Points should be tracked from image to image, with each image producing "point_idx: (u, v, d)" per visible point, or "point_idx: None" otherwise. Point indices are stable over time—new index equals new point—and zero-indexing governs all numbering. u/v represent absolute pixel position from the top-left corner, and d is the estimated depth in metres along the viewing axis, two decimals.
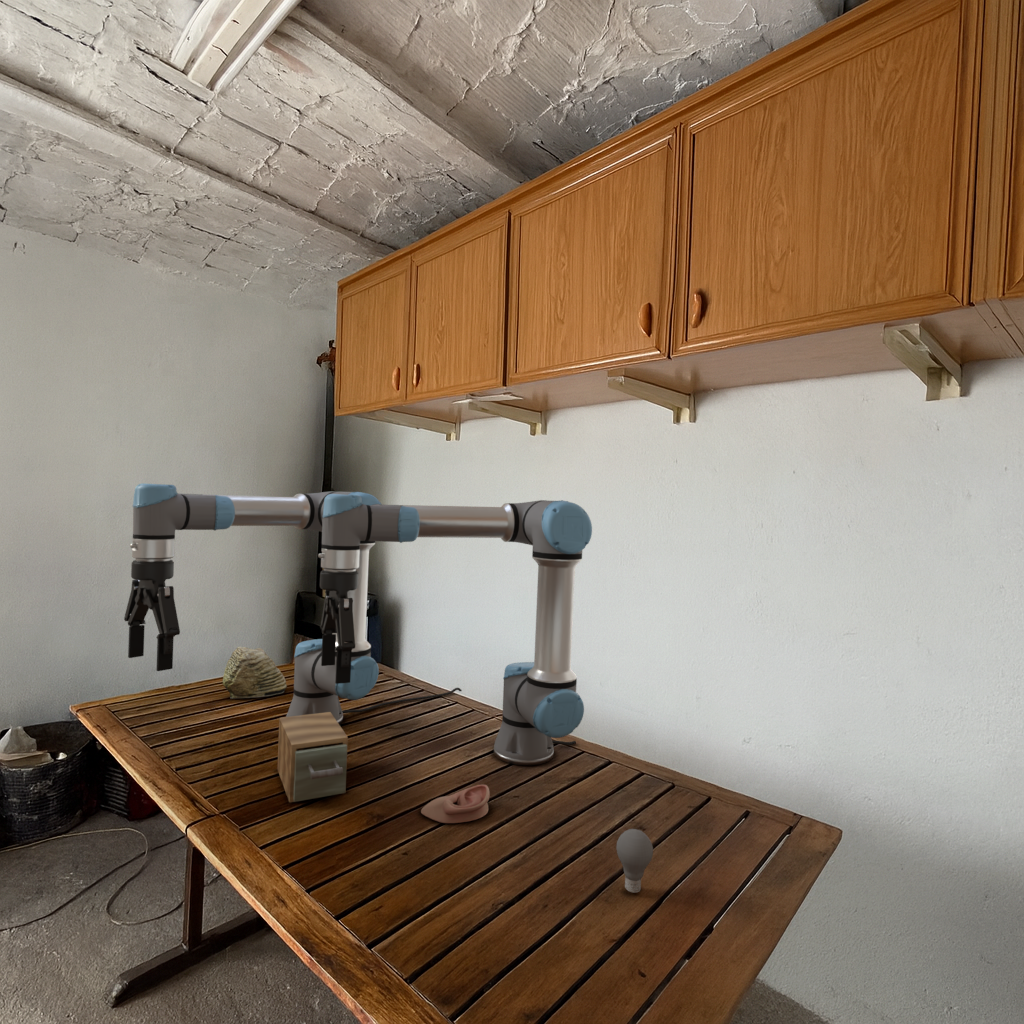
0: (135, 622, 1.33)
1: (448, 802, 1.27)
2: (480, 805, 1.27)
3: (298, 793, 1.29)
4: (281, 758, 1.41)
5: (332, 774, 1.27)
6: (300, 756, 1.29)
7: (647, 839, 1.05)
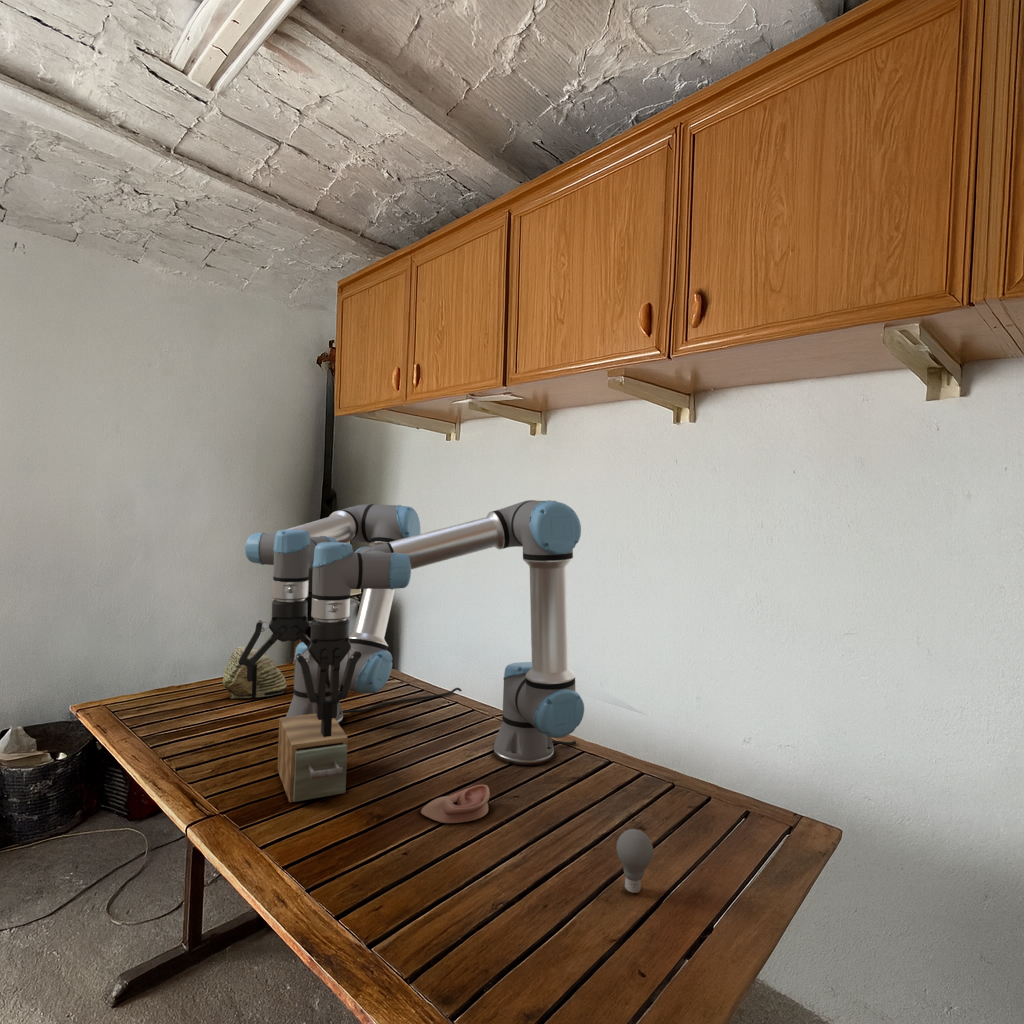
0: None
1: (448, 802, 1.27)
2: (480, 805, 1.27)
3: (298, 793, 1.29)
4: (281, 758, 1.41)
5: (332, 774, 1.27)
6: (300, 756, 1.29)
7: (647, 839, 1.05)
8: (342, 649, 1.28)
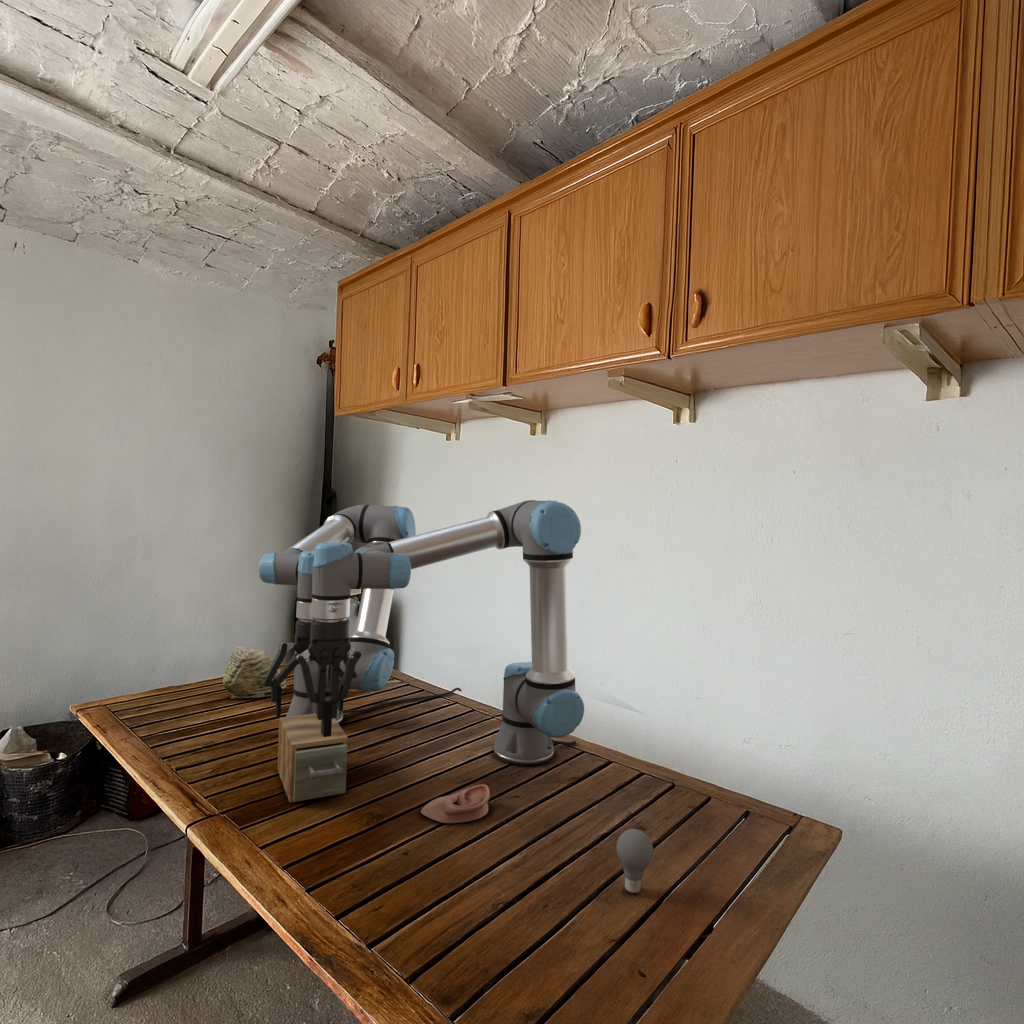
0: None
1: (448, 802, 1.27)
2: (480, 805, 1.27)
3: (298, 793, 1.29)
4: (281, 758, 1.41)
5: (332, 774, 1.27)
6: (300, 756, 1.29)
7: (647, 839, 1.05)
8: (342, 649, 1.28)
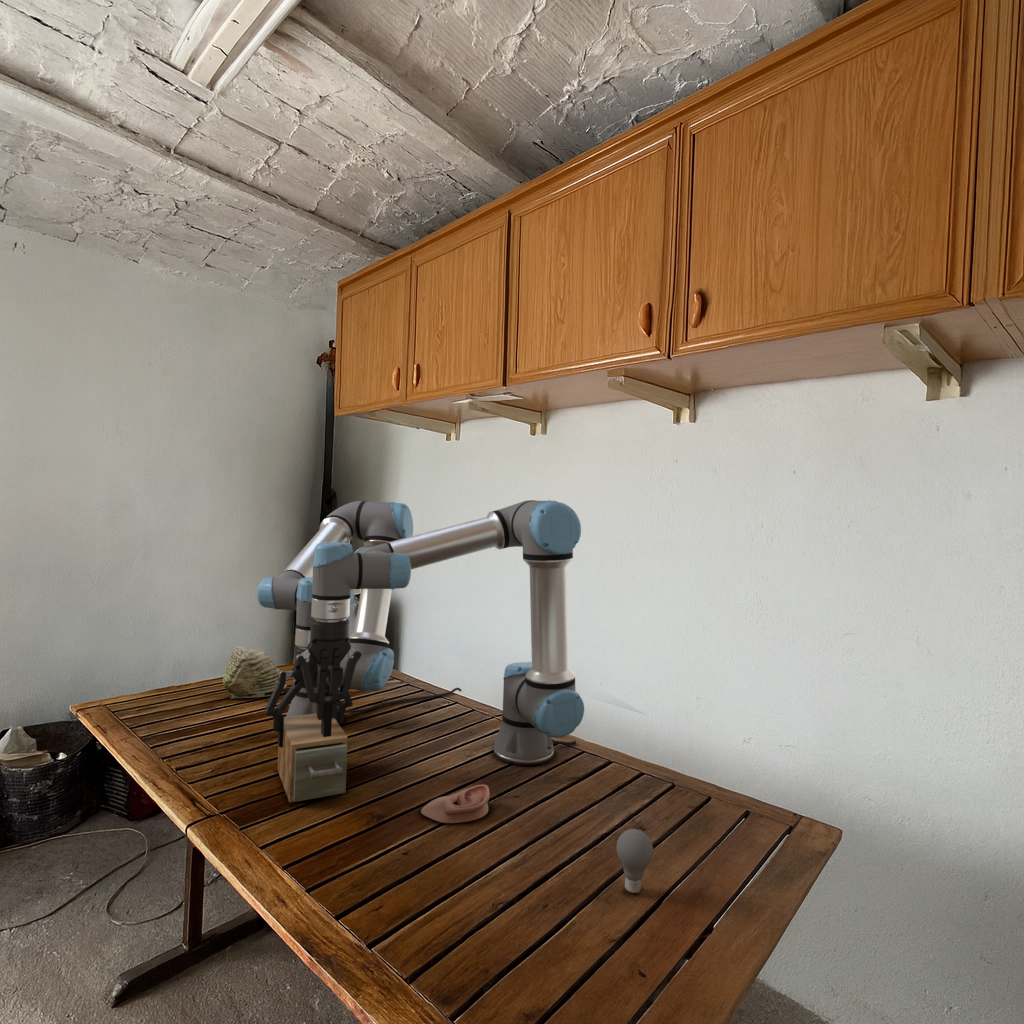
0: None
1: (448, 802, 1.27)
2: (480, 805, 1.27)
3: (298, 793, 1.29)
4: (281, 758, 1.41)
5: (332, 774, 1.27)
6: (300, 756, 1.29)
7: (647, 839, 1.05)
8: (342, 649, 1.28)
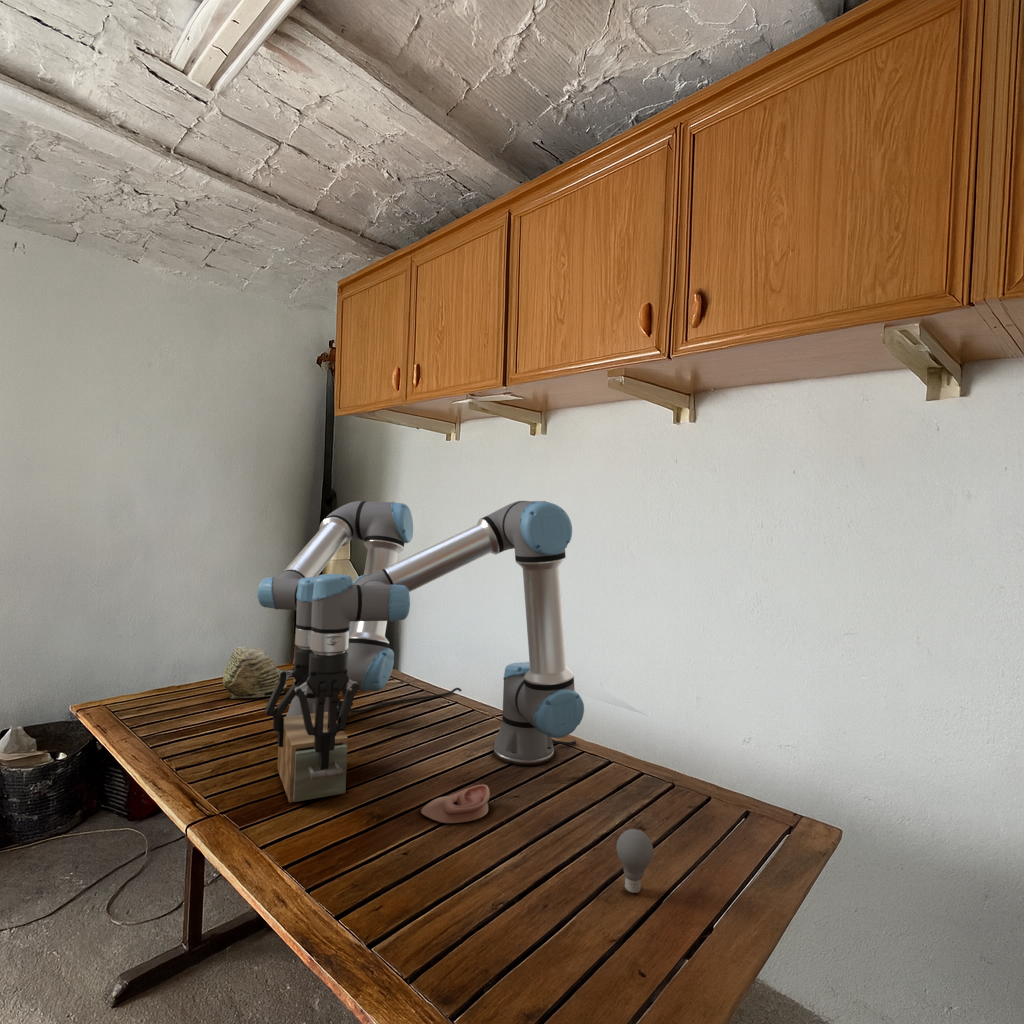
0: None
1: (448, 802, 1.27)
2: (480, 805, 1.27)
3: (298, 793, 1.29)
4: (281, 758, 1.41)
5: (332, 775, 1.27)
6: (300, 756, 1.29)
7: (647, 839, 1.05)
8: (340, 681, 1.28)
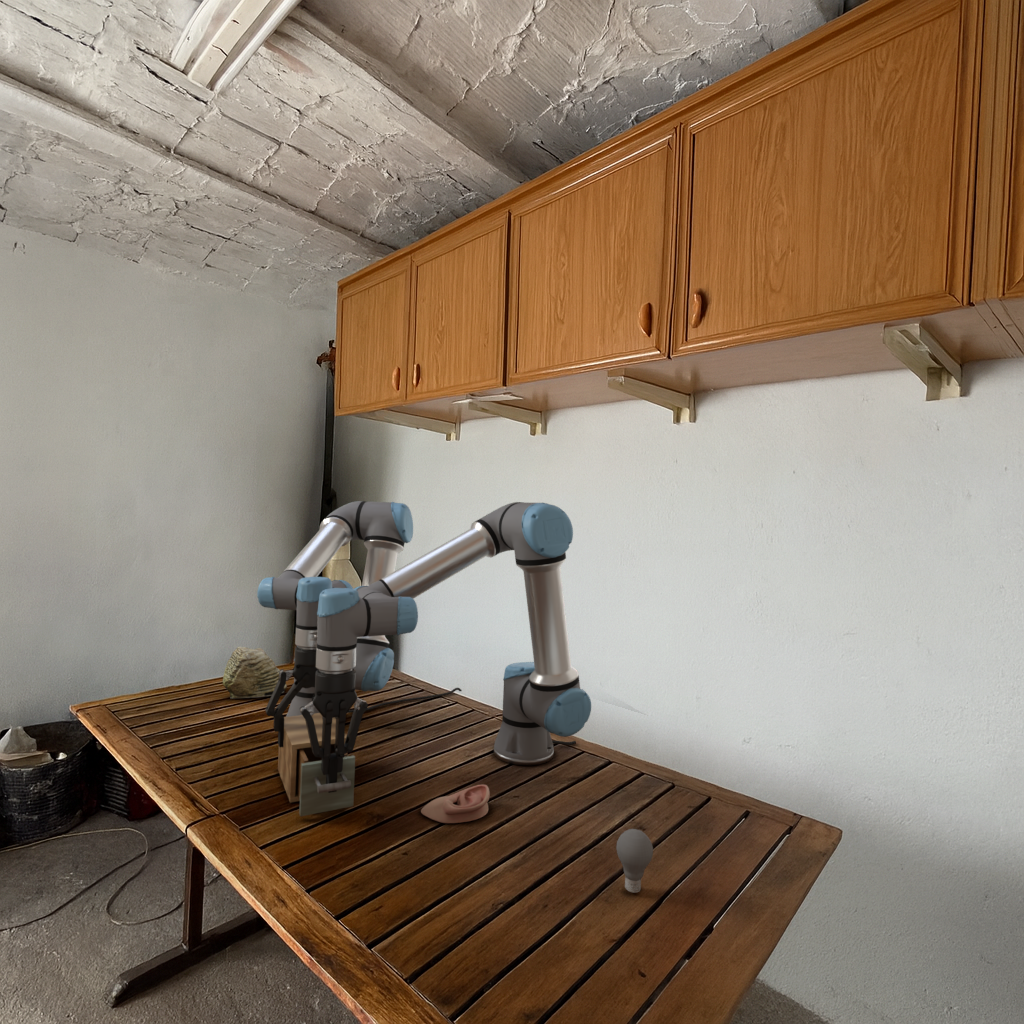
0: None
1: (448, 802, 1.27)
2: (480, 805, 1.27)
3: (304, 807, 1.24)
4: (281, 758, 1.41)
5: (340, 788, 1.21)
6: (306, 768, 1.24)
7: (647, 839, 1.05)
8: (348, 700, 1.23)
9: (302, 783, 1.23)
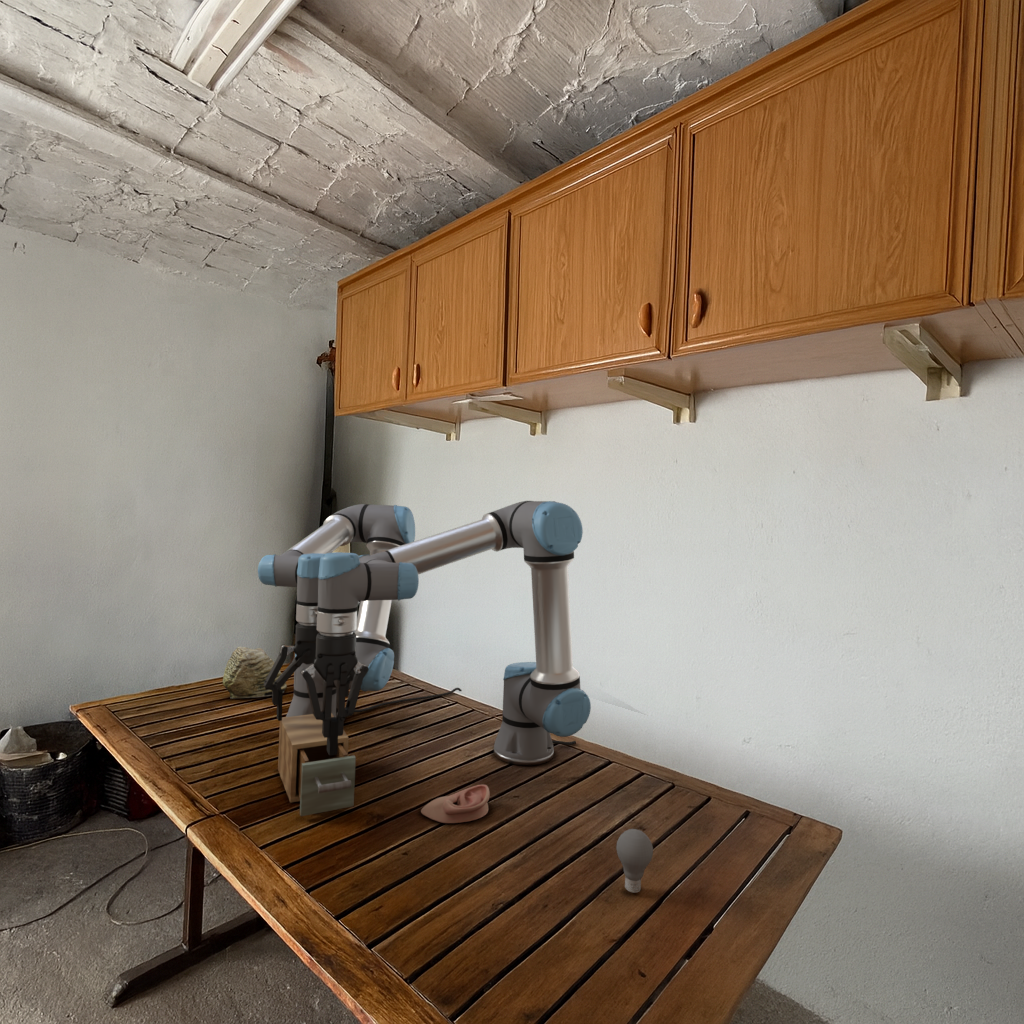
0: None
1: (448, 802, 1.27)
2: (480, 805, 1.27)
3: (305, 807, 1.24)
4: (282, 758, 1.41)
5: (340, 787, 1.21)
6: (307, 768, 1.24)
7: (647, 839, 1.05)
8: (349, 664, 1.23)
9: (303, 783, 1.23)
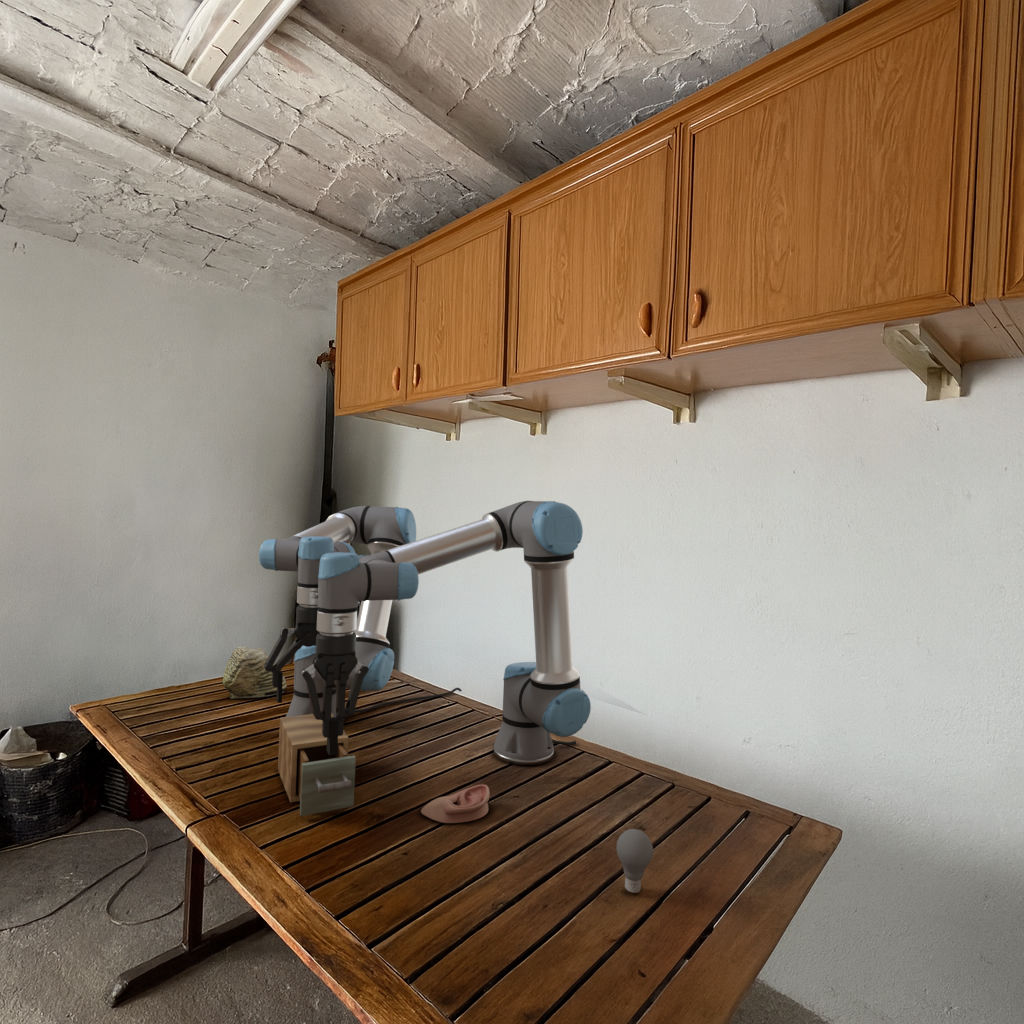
0: None
1: (448, 802, 1.27)
2: (480, 805, 1.27)
3: (305, 807, 1.24)
4: (282, 758, 1.41)
5: (340, 787, 1.21)
6: (307, 768, 1.24)
7: (647, 839, 1.05)
8: (349, 664, 1.23)
9: (303, 783, 1.23)
